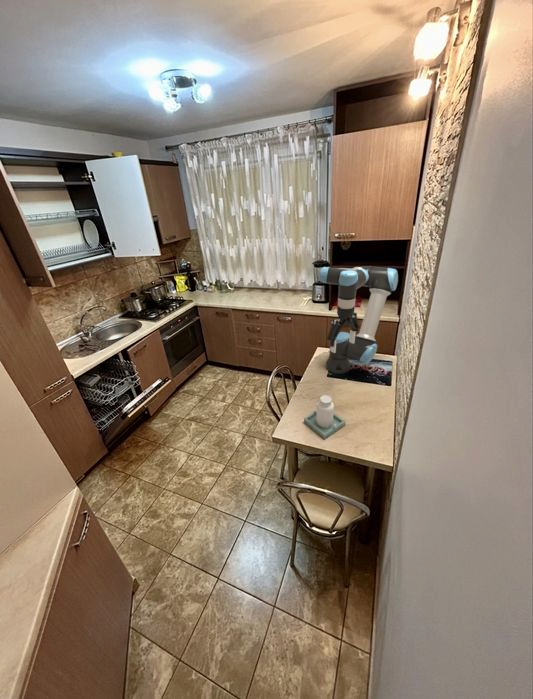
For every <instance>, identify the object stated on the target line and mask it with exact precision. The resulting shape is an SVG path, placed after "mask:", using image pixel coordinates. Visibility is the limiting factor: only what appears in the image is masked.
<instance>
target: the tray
mask: <svg viewBox="0 0 533 699" xmlns="http://www.w3.org/2000/svg"><path fill="white" fill-rule="evenodd" d="M316 414H317V408H313V412H312V413H311V414H309V415H306V416H305V417H304V418H303V423H304V424H305V425H307V427H309V428H310V429H311V430H312V431H314V432H315V433H316V434H317V435H319V436H320V437H321V438H322V439H323V440H326V439H328V438H329V437H330V436H331V435H334V434H335V433H337V432H338V431H339V430H340V429H342V428H344V426H346V420H345V419H343V418H342V417H341V416H339V415H337V414H336V412H334V415H333V423H332V425H331V426H330V427H328V428H323V427H320V426H319V425H318V424H317V422H316Z"/></svg>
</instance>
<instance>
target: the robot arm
mask: <svg viewBox="0 0 533 699" xmlns="http://www.w3.org/2000/svg"><path fill="white" fill-rule="evenodd" d="M318 278H319V279H318V280H319V281H320V283H323V284H328V285H337V286H338V295H337V307H336V308H337V309H336V314H337V319H334V318H333V319H332V323H331V326H330V329H329V332H328V334H327V337H326V340H327V341H329V352H328V353H329V355H328V358H327V359H326V362H325V368H326V370H327V371H328V372H330V373H332V374H337V375H338V374H341V375H342V374H346V373H348V372H349V371H350V370H351V362H350V359H353V360H356V361H358V362H363V363H370V362H371V361H372V360H373V359H374V357H375V355H376V353H377V350H378V344H377V343H376V342H377V339H375V336H376V333H377V330H378V326H379V323H380V319H381V316H382V314H383V310H384V308H385V304H386V301H387V297H388V296H390V295H391V294H392V292H395V291H396V289H397V288H398V287H397V286H398V283H399V274H398V270H397V269H396V268H391V267H379V266H373V265H372V266H371V265H369V266H368V265H365V266H355V267H352V268H346V267H330V266H327V267H326V266H323V267H322V268H321V269H320V270H319V274H318ZM361 287H367V288H369V292H370V296H369V300H368V301H367V302H368V303H367V306H366V310H365V313H364V315H363V319H362V322H361V324H359V320H358V313H357V312H355V306H356V296H357V290H358V289H360V288H361ZM360 325H361V326H360ZM346 326H348V327H350V329H349V330H350V331H349V332H346V331H341V330H342V329H344V327H346ZM357 332H359V333H357ZM356 333H357V334H356Z"/></svg>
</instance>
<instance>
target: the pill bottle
mask: <svg viewBox="0 0 533 699" xmlns="http://www.w3.org/2000/svg"><path fill="white" fill-rule="evenodd" d="M316 411H317V414H316V422H317V424H318V425H319V426H320V427H323V428H328V427H330V426H331V425H332V423H333V415H334V413H335V404H334V402H333V400H332V397H331V396H329V395H327V394H325V395H321V396H320V397H319V401H317V403H316Z"/></svg>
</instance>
